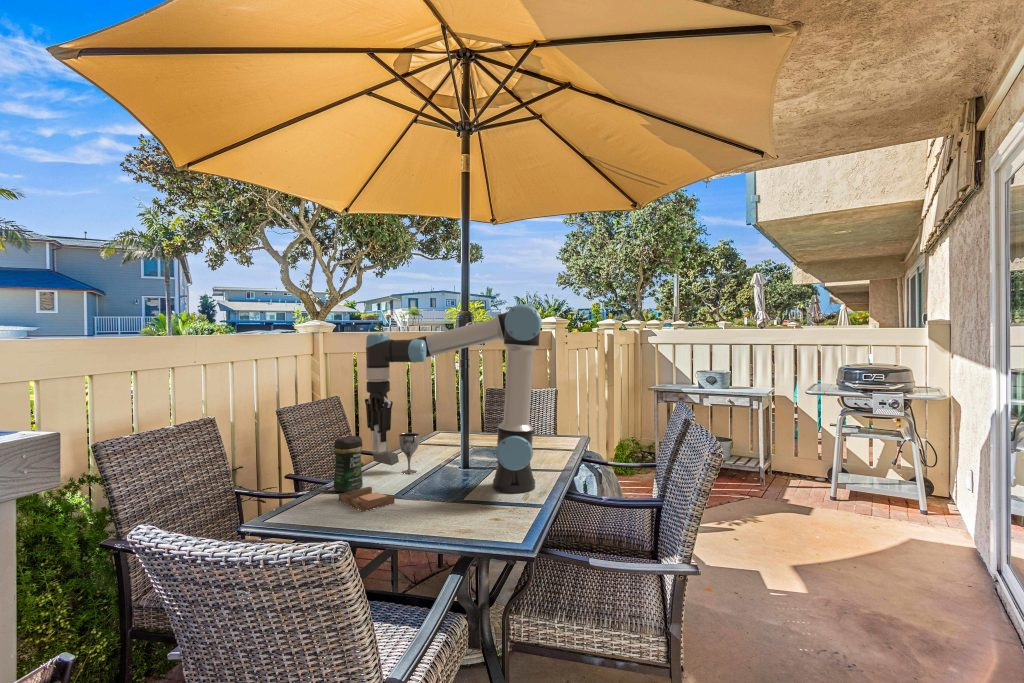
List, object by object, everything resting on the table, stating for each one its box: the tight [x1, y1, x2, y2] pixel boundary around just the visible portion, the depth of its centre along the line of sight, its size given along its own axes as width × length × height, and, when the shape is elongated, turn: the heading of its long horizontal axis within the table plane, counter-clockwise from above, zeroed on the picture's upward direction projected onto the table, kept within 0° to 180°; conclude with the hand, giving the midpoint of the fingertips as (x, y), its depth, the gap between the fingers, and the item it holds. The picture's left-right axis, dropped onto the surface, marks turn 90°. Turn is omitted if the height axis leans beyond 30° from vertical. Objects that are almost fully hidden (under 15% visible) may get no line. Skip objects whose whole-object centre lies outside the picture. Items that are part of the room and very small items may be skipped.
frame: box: [338, 486, 395, 512], centre depth 179 cm, size 15×12×2 cm
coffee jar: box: [333, 435, 364, 493], centre depth 194 cm, size 10×8×19 cm
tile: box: [357, 491, 387, 502], centre depth 180 cm, size 7×7×2 cm
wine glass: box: [398, 432, 420, 475], centre depth 216 cm, size 8×8×15 cm
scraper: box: [371, 424, 400, 466], centre depth 182 cm, size 10×3×13 cm, turn 48°
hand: (379, 450), depth 182 cm, fingers closed on scraper, 3 cm apart
